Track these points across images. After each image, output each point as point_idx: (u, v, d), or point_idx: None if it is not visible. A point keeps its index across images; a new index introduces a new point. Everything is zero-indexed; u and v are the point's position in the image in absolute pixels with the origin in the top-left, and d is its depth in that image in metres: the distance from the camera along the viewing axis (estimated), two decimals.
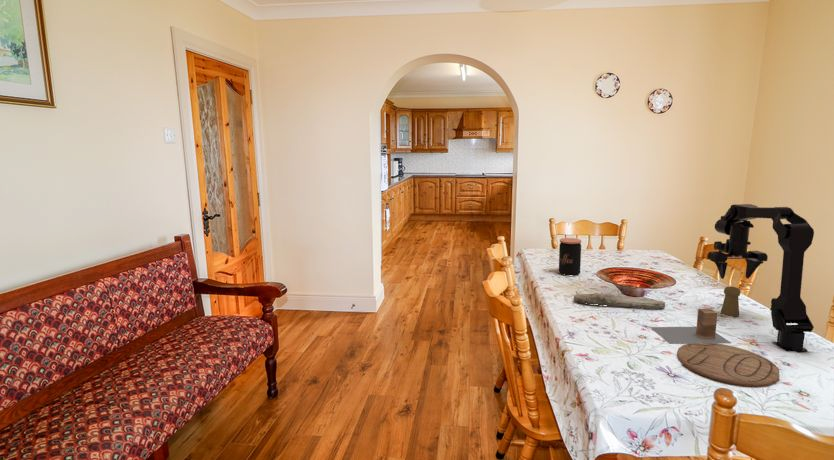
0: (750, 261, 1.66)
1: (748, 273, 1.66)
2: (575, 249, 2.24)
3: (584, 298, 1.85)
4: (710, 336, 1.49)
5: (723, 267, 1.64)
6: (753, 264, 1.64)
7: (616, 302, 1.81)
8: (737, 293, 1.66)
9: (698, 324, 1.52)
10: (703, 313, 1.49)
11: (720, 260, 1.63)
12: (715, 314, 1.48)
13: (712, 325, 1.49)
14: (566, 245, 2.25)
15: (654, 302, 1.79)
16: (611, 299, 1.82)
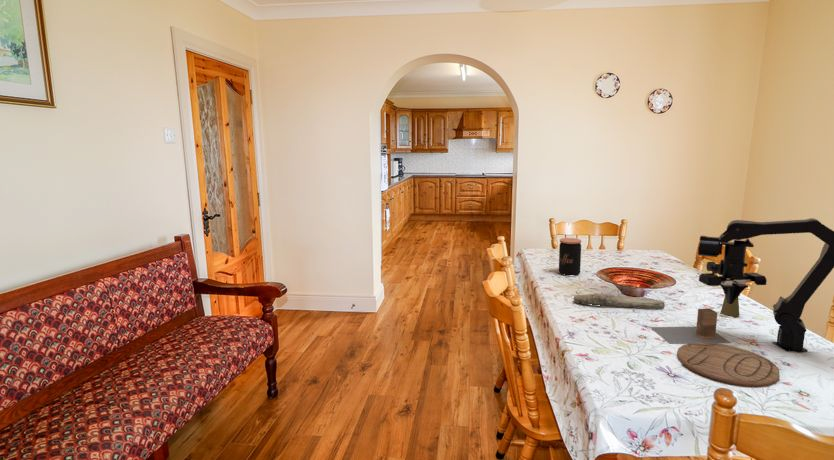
0: (733, 285, 1.48)
1: None
2: (575, 249, 2.24)
3: (585, 299, 1.84)
4: (710, 336, 1.49)
5: (731, 291, 1.46)
6: (737, 288, 1.46)
7: (617, 302, 1.81)
8: None
9: (698, 324, 1.52)
10: (703, 313, 1.49)
11: (713, 284, 1.45)
12: (715, 314, 1.48)
13: (712, 325, 1.49)
14: (566, 245, 2.25)
15: (654, 302, 1.79)
16: (612, 299, 1.81)
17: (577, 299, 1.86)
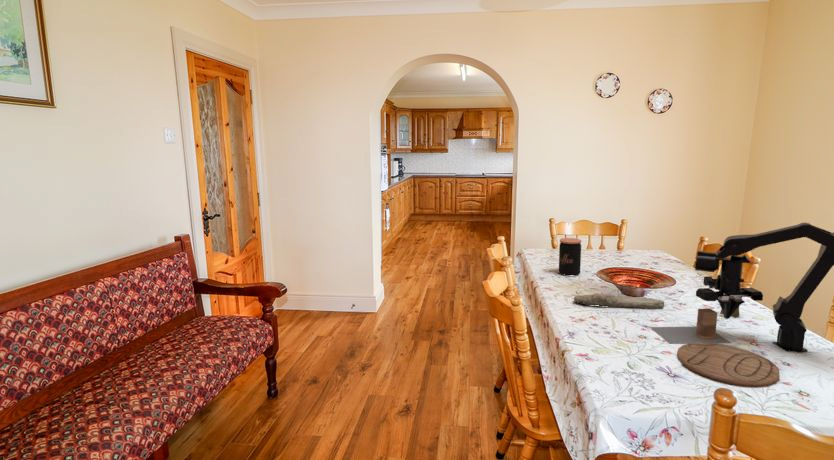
0: (730, 300, 1.49)
1: None
2: (575, 249, 2.24)
3: (585, 299, 1.83)
4: (710, 336, 1.49)
5: (727, 306, 1.47)
6: (734, 303, 1.47)
7: (617, 302, 1.81)
8: None
9: (698, 324, 1.52)
10: (703, 313, 1.49)
11: (710, 299, 1.46)
12: (715, 314, 1.48)
13: (712, 325, 1.49)
14: (566, 245, 2.25)
15: (654, 301, 1.80)
16: (612, 300, 1.81)
17: (577, 300, 1.85)
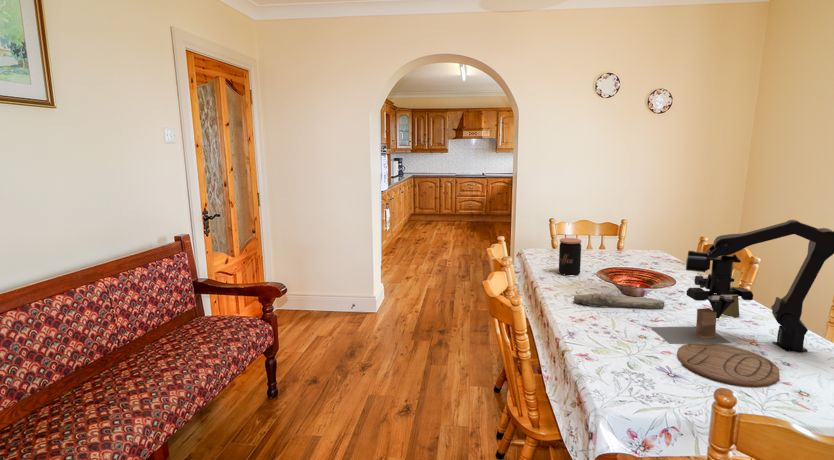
0: (720, 299, 1.49)
1: None
2: (575, 249, 2.24)
3: (585, 299, 1.84)
4: (710, 336, 1.49)
5: (718, 306, 1.47)
6: (724, 303, 1.47)
7: (617, 302, 1.81)
8: None
9: (698, 324, 1.52)
10: (702, 313, 1.49)
11: (700, 299, 1.46)
12: (714, 314, 1.48)
13: (712, 325, 1.49)
14: (566, 245, 2.25)
15: (654, 301, 1.79)
16: (612, 299, 1.81)
17: (577, 299, 1.86)
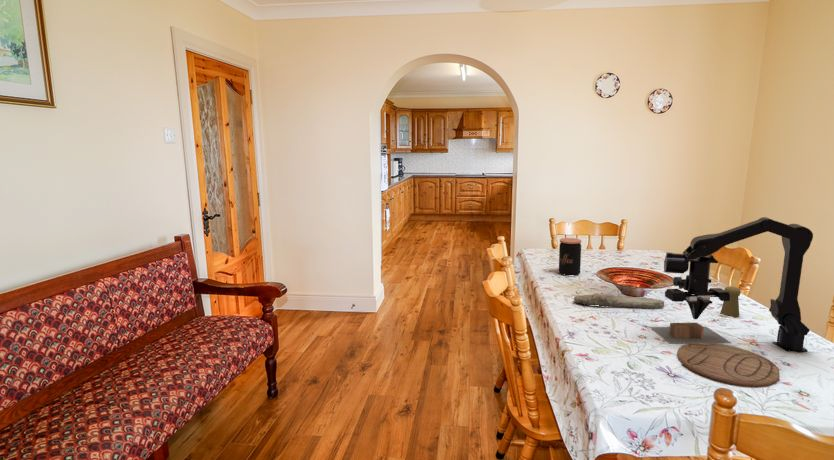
0: (698, 300, 1.49)
1: None
2: (575, 249, 2.24)
3: (585, 299, 1.83)
4: (701, 331, 1.49)
5: (695, 306, 1.47)
6: (702, 304, 1.48)
7: (617, 302, 1.81)
8: (737, 293, 1.66)
9: None
10: None
11: (678, 300, 1.46)
12: (678, 329, 1.49)
13: (689, 330, 1.49)
14: (566, 245, 2.25)
15: (654, 301, 1.80)
16: (612, 299, 1.81)
17: (577, 300, 1.85)
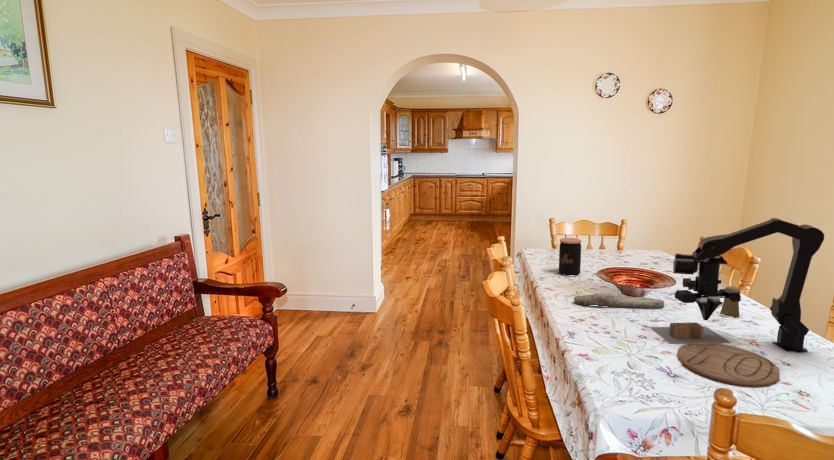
0: (708, 301, 1.49)
1: None
2: (575, 249, 2.24)
3: (586, 299, 1.83)
4: (701, 331, 1.49)
5: (705, 308, 1.47)
6: (712, 304, 1.47)
7: (617, 302, 1.81)
8: None
9: None
10: None
11: (688, 301, 1.46)
12: (678, 329, 1.49)
13: (689, 330, 1.49)
14: (566, 245, 2.25)
15: (654, 301, 1.80)
16: (612, 300, 1.81)
17: (578, 300, 1.85)
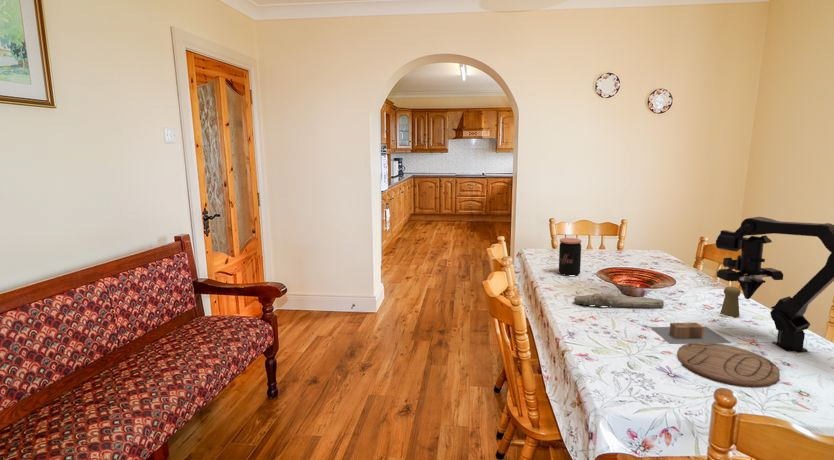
0: (751, 280, 1.50)
1: None
2: (575, 249, 2.24)
3: (586, 300, 1.83)
4: (701, 331, 1.49)
5: (748, 286, 1.48)
6: (754, 283, 1.49)
7: (618, 302, 1.81)
8: (737, 293, 1.66)
9: None
10: None
11: (732, 279, 1.47)
12: (678, 329, 1.49)
13: (689, 330, 1.49)
14: (566, 245, 2.25)
15: (654, 301, 1.80)
16: (613, 300, 1.81)
17: (578, 300, 1.85)
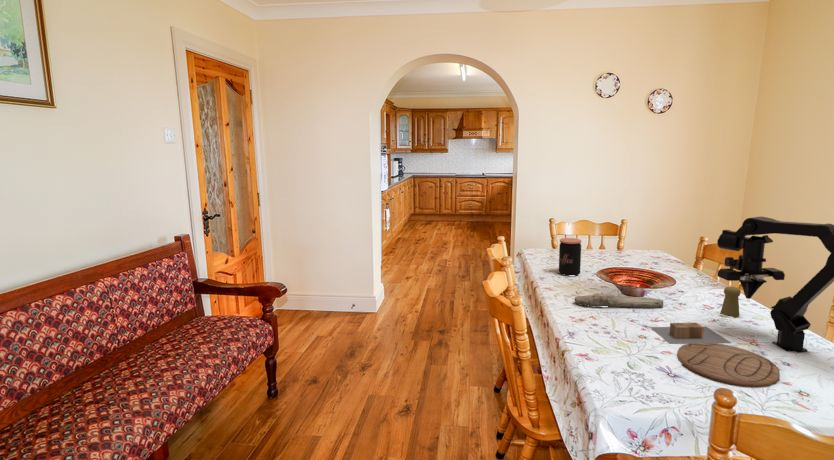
0: (752, 280, 1.51)
1: None
2: (575, 249, 2.24)
3: (587, 300, 1.82)
4: (701, 331, 1.49)
5: (749, 286, 1.49)
6: (755, 283, 1.49)
7: (618, 303, 1.80)
8: (737, 293, 1.66)
9: None
10: None
11: (732, 279, 1.48)
12: (678, 329, 1.49)
13: (689, 330, 1.49)
14: (566, 245, 2.25)
15: (654, 301, 1.80)
16: (613, 300, 1.81)
17: (579, 301, 1.84)
